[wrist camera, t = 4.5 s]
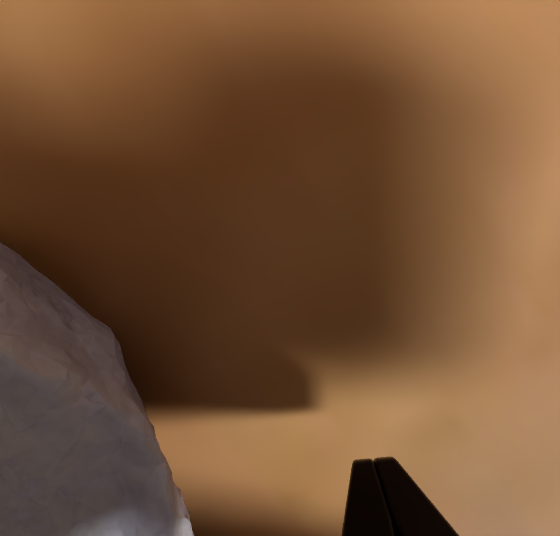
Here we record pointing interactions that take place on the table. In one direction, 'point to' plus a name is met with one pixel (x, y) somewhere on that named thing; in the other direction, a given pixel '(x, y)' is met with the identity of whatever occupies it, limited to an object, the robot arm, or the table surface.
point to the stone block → (73, 423)
